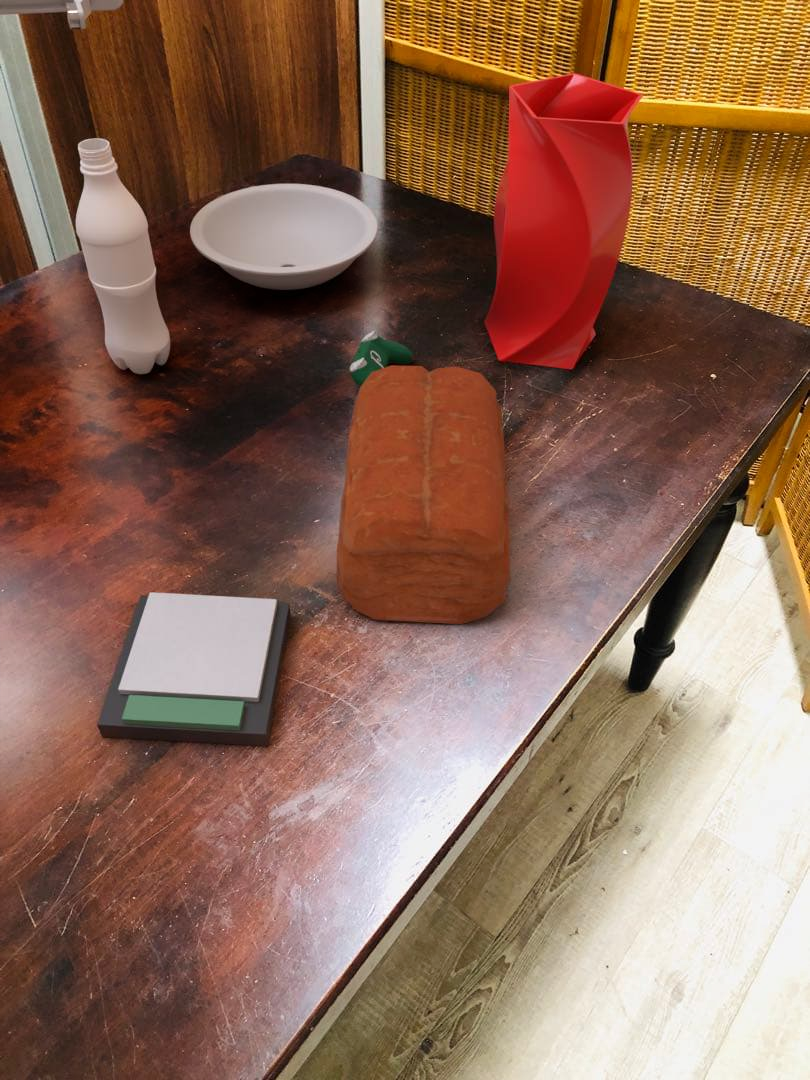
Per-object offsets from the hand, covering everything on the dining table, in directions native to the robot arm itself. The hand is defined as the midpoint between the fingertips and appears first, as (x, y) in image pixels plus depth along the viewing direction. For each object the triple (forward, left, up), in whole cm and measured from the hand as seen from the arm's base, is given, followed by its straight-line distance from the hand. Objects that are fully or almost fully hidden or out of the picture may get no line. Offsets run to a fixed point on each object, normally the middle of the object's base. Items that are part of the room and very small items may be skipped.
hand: (26, 24), depth 84 cm
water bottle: (+7, -7, -33) cm, 35 cm away
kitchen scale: (+23, -50, -33) cm, 64 cm away
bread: (+40, -30, -33) cm, 61 cm away
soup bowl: (+21, +15, -33) cm, 42 cm away
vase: (+54, +3, -33) cm, 63 cm away
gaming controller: (+35, -8, -33) cm, 49 cm away
